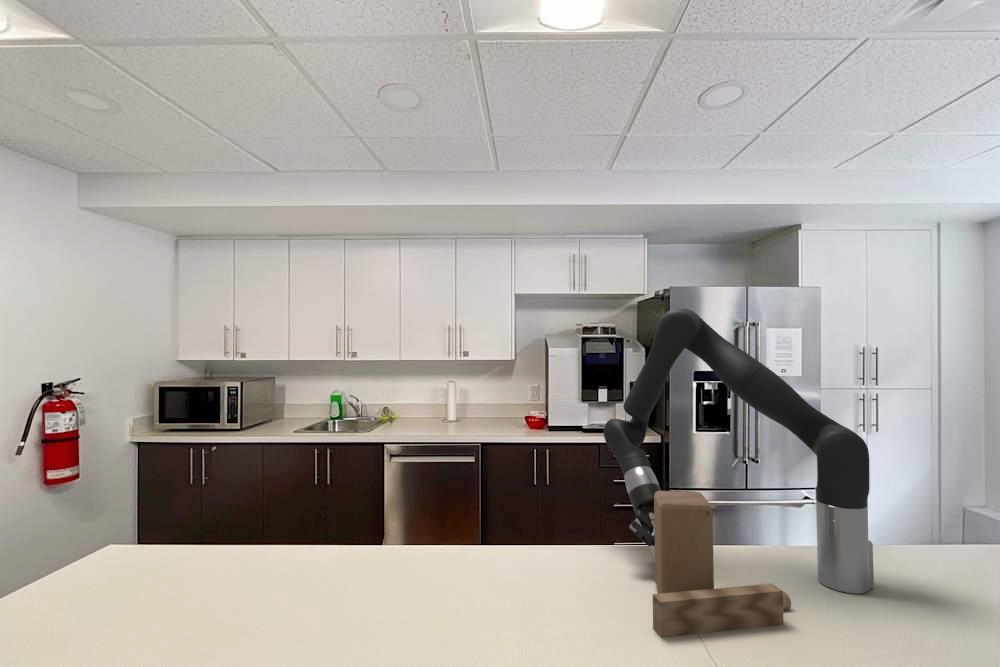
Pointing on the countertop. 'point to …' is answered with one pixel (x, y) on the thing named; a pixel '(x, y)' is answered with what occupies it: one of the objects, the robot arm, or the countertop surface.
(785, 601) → the roller
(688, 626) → the board
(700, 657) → the countertop surface
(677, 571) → the wooden block
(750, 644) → the countertop surface
